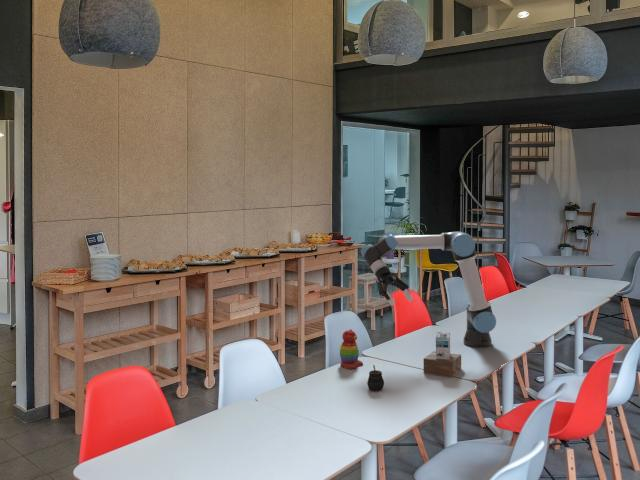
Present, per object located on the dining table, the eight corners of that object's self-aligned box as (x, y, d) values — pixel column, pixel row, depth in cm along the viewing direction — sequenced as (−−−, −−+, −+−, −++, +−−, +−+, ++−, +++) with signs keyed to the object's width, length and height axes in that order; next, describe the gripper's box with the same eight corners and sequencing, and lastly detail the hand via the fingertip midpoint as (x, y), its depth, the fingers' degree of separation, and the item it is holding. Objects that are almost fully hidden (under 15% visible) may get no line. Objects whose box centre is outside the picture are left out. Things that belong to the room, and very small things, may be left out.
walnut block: (433, 365, 301) (433, 351, 300) (461, 368, 294) (461, 354, 293) (423, 373, 289) (423, 358, 288) (452, 377, 282) (452, 362, 281)
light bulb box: (450, 360, 285) (450, 337, 284) (435, 359, 286) (435, 337, 285) (450, 353, 295) (450, 331, 294) (436, 353, 296) (436, 331, 295)
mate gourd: (370, 393, 263) (370, 370, 262) (364, 387, 270) (364, 365, 269) (386, 391, 265) (385, 368, 264) (380, 386, 272) (379, 364, 271)
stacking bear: (352, 369, 296) (351, 334, 294) (335, 366, 302) (334, 331, 300) (364, 364, 304) (363, 329, 303) (347, 361, 311) (347, 326, 309)
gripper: (393, 272, 328) (414, 303, 318) (360, 277, 312) (381, 310, 302) (400, 263, 324) (422, 294, 314) (367, 268, 308) (389, 301, 298)
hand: (402, 302), depth 308 cm, fingers open, 13 cm apart
